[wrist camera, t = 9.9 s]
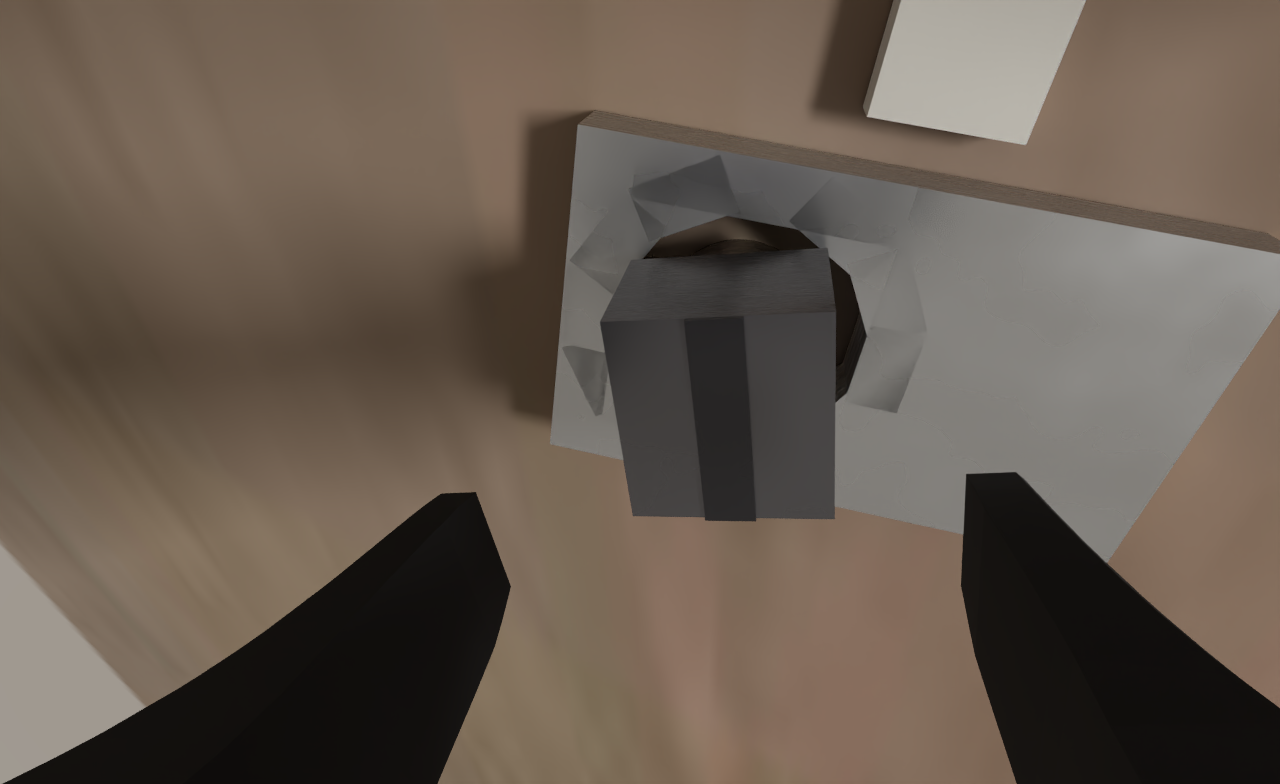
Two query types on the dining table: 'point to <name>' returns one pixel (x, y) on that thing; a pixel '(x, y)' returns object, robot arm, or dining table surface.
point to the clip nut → (726, 382)
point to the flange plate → (943, 318)
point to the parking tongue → (970, 64)
